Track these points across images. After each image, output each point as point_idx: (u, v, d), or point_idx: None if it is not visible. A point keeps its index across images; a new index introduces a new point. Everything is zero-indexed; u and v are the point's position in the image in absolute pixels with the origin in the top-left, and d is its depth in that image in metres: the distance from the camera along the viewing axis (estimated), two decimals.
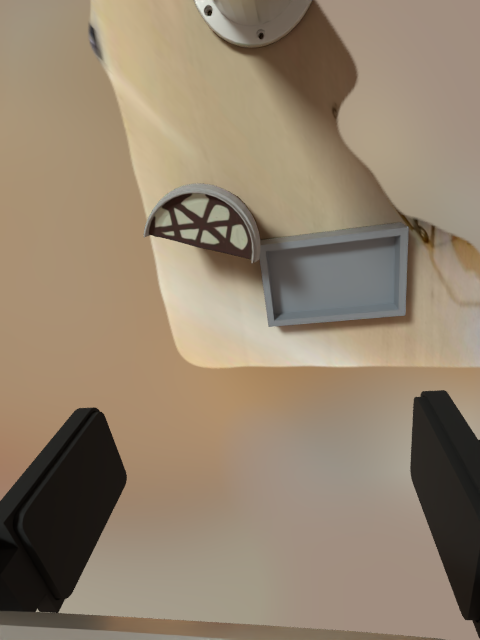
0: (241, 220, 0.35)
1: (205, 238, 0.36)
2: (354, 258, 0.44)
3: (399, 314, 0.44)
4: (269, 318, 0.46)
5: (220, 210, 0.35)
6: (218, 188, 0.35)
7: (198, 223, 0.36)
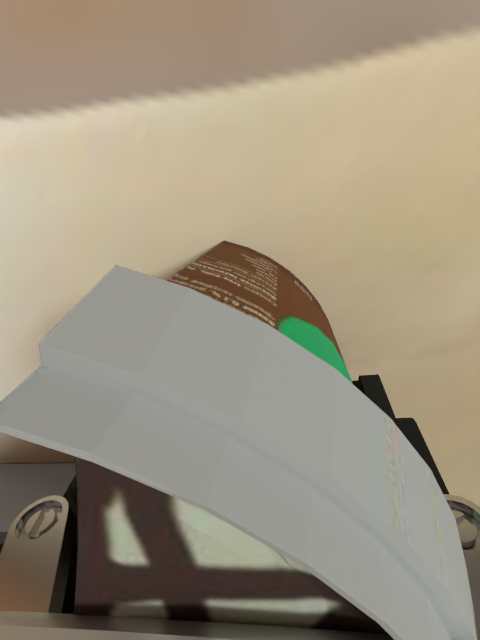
0: None
1: None
2: None
3: None
4: None
5: None
6: None
7: None
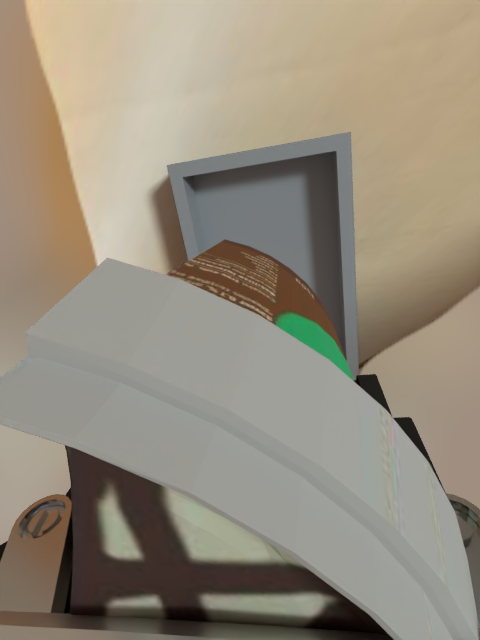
0: None
1: None
2: None
3: None
4: (186, 166, 0.21)
5: None
6: None
7: None
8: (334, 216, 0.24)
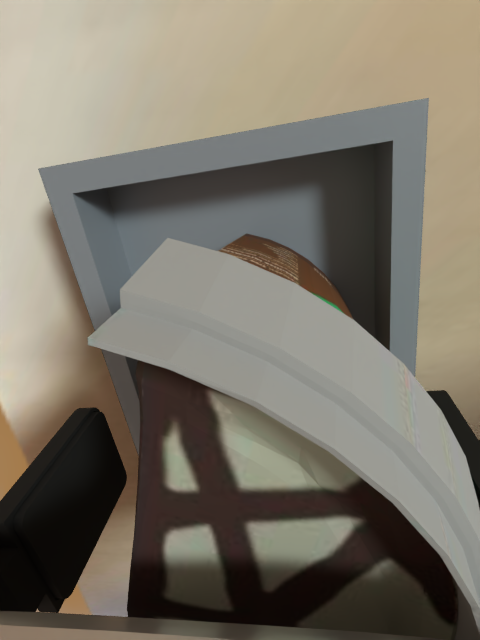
0: None
1: None
2: None
3: None
4: (76, 171, 0.10)
5: None
6: None
7: (264, 609, 0.06)
8: (372, 266, 0.13)
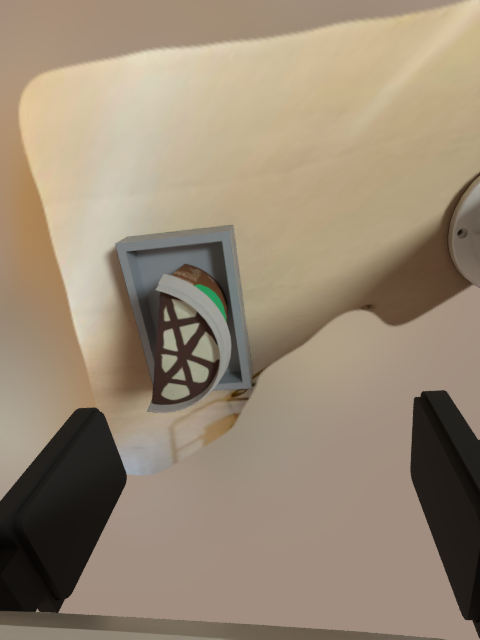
0: (194, 394, 0.31)
1: (167, 359, 0.29)
2: None
3: None
4: (127, 245, 0.33)
5: (202, 373, 0.30)
6: (227, 366, 0.30)
7: (184, 350, 0.29)
8: None
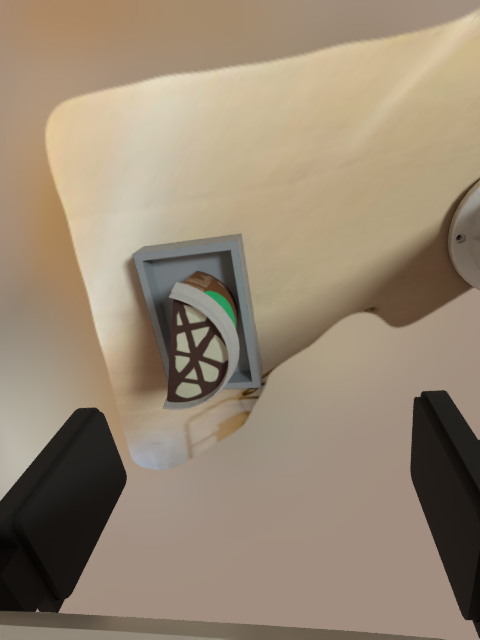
0: (205, 393, 0.33)
1: (180, 360, 0.32)
2: None
3: None
4: (144, 254, 0.36)
5: (213, 373, 0.32)
6: (235, 366, 0.33)
7: (196, 352, 0.31)
8: None
